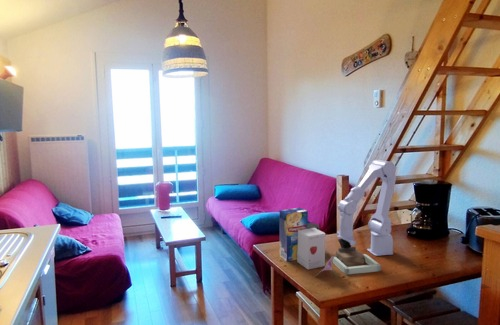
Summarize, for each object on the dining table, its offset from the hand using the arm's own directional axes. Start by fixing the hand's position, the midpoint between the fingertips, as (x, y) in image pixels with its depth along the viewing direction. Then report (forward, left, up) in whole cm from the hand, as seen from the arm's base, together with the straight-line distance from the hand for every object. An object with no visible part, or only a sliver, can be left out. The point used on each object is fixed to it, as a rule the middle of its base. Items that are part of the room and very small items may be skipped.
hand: (345, 255), depth 168 cm
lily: (+16, +16, -2) cm, 22 cm away
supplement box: (+18, +3, -2) cm, 18 cm away
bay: (0, +9, -1) cm, 9 cm away
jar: (+12, -13, -1) cm, 18 cm away
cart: (0, +5, -1) cm, 5 cm away
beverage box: (+23, -6, -1) cm, 24 cm away
